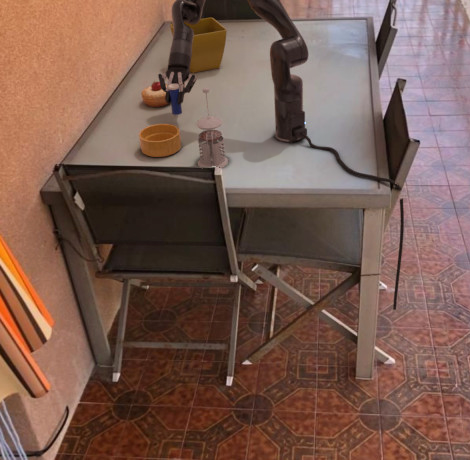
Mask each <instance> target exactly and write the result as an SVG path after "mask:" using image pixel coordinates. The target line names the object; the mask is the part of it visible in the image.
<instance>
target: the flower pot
mask: <svg viewBox="0 0 470 460" xmlns="http://www.w3.org/2000/svg"><path fill="white" fill-rule="evenodd" d="M184 23H185V22H184ZM185 24H186V25H187V26H189V27H190V28H192V30H193V31H194V37H193V44H192V57H191V63H190V70H189V72H190V73H191V74H195V73H199V72H204V71H209V70H215V69H219V68H220V67H221V64H222V61H223V57H224V54H225V48H226V40H227V32H228V31H227V30H228V29H227V28H226V27H224V26H223V25H222V23H220V22H219V21H217V19H215V17H214V18H213V17H205V18H201V19H200V21H199V22H198V23H197V24H195V25H191V24H188V23H185ZM169 27H170V31H171V34H172V36H173V33H174V29H173V23H170V24H169Z"/></svg>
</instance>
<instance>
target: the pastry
mask: <svg viewBox="0 0 470 460" xmlns="http://www.w3.org/2000/svg"><path fill="white" fill-rule="evenodd" d="M165 85H166V88H167V85H168V84H167V83H165ZM140 93H141V94H140V95H141V98H142V100H143V102H144V104H145V105H147V106H148V107H152V108H160V107H164V106H167V105H169V104H168V103H167V102H166V101H165V96H166V92H164V91H163V90H162V89H161V85H160V81H153V82H152V84H151V85H149V86H148V87H145V88H144V89H142V91H141V92H140ZM170 103H171V101H170Z"/></svg>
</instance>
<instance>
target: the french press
mask: <svg viewBox="0 0 470 460" xmlns="http://www.w3.org/2000/svg"><path fill="white" fill-rule="evenodd" d="M209 92H210V89H209V88H207V87H204V88H203V89H202V93H204V94H205V99H206V108H207V111H209V105H208V104H209V103H208V102H209V101H208V93H209ZM222 124H223V120H222V119H220V118H219V117H217V116H210V115H209V112H207V115H206V116H204V117H201V118H200V119H198V120H197V121H196V122H195V126H196V127H197V128H198V129H200V130H203V131H201V132H200V133H198V139H197V142H198V143H197V144H198V151H199V159H198V161H197V166H198V167H199V168H201V167H212V166H216V167H220V169H222V168H224V167H226V166H227V165H228V163H229V159H228V158H227V157H226V154H225V143H224V137H223V134H222V132H221V131H220V130H217V128H219V127H220V126H221V125H222Z"/></svg>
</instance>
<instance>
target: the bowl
mask: <svg viewBox="0 0 470 460" xmlns="http://www.w3.org/2000/svg"><path fill="white" fill-rule="evenodd" d="M138 139H139V144H140V145H139V146H140V151H141V153H142V154H144V155H145V156H148V157H154V158H160V157H161V158H162V157H167V156H171V155H174V154H176V153H177V152H178V151H180V149H181V148H182V138H181V131H180V129H179V127H178V126H176V125H175V124H170V123H156V124H152V125H149V126H146V127H144V128H142V129H141V130H140V131H139V133H138Z"/></svg>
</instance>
